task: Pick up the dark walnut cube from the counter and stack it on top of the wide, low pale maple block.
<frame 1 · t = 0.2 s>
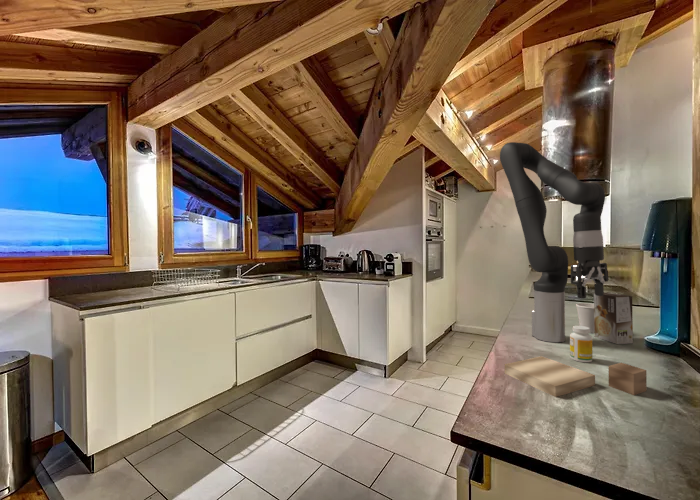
hand: (590, 296, 98), 17 cm above the countertop, tool pointing down, fingers open, 8 cm apart
walnut cube: (627, 388, 74), on the countertop
maple block: (547, 381, 80), on the countertop
supplement bottle: (581, 360, 92), on the countertop
coffee box: (612, 340, 109), on the countertop
dixie cup: (589, 331, 119), on the countertop
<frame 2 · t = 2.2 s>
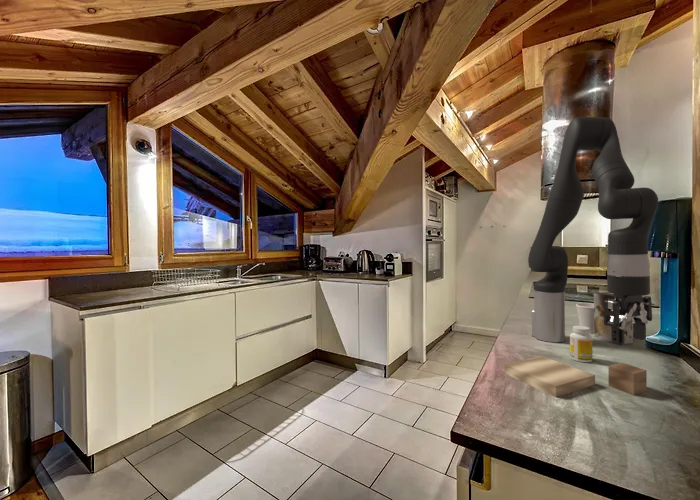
hand: (628, 342, 73), 11 cm above the countertop, tool pointing down, fingers open, 8 cm apart
nothing on the countertop moved.
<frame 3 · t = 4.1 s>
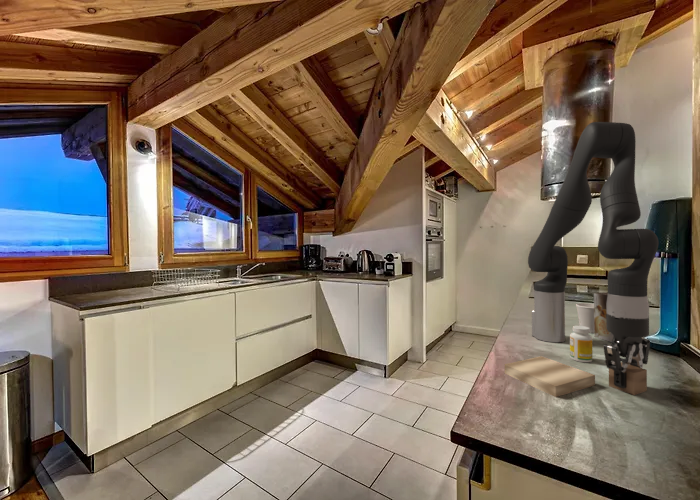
hand: (627, 384, 74), 1 cm above the countertop, tool pointing down, fingers closed on walnut cube, 5 cm apart
walnut cube: (627, 388, 74), on the countertop, touching gripper
everything else where it was.
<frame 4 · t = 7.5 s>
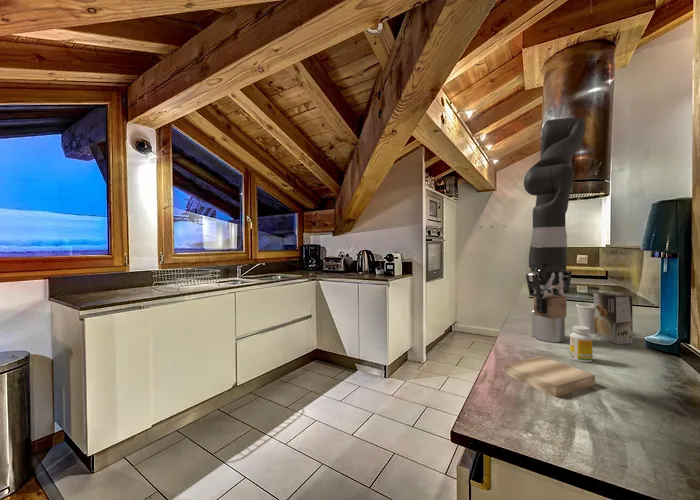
hand: (549, 311, 79), 17 cm above the countertop, tool pointing down, fingers closed on walnut cube, 5 cm apart
walnut cube: (549, 315, 79), point 16 cm above the countertop, touching gripper
everything else where it was.
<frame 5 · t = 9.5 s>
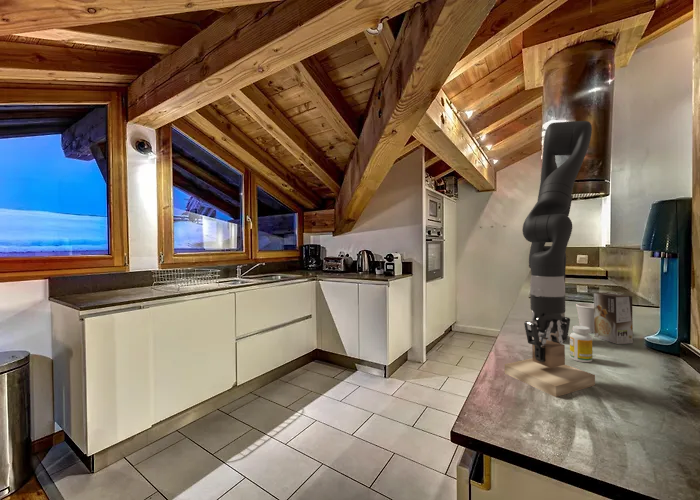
hand: (548, 358, 79), 5 cm above the countertop, tool pointing down, fingers closed on walnut cube, 5 cm apart
walnut cube: (548, 362, 79), point 4 cm above the countertop, touching gripper
everything else where it was.
when the fingers open (4 cm above the countertop, at t = 11.2 s): walnut cube stays where it is, resting on maple block.
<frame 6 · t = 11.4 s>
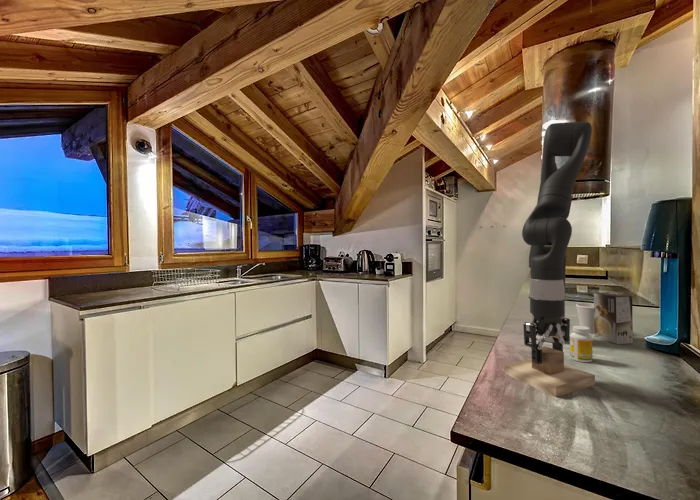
hand: (547, 360, 80), 5 cm above the countertop, tool pointing down, fingers open, 7 cm apart
walnut cube: (547, 369, 80), point 2 cm above the countertop, touching maple block
maple block: (547, 381, 80), on the countertop, touching walnut cube
everything else where it was.
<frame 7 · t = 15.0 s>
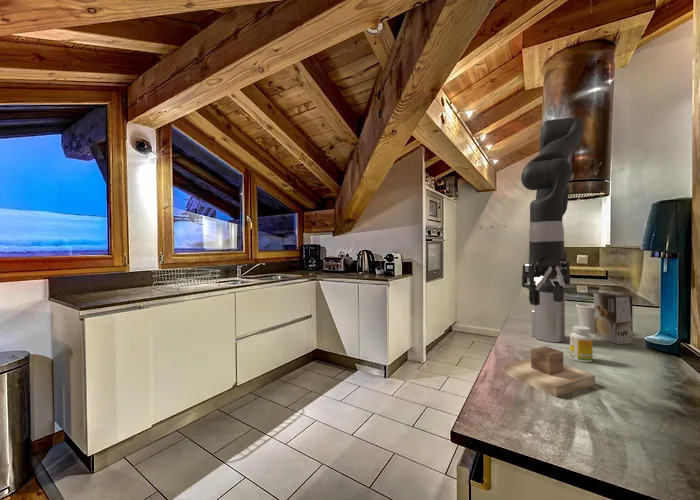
hand: (546, 303, 79), 20 cm above the countertop, tool pointing down, fingers open, 8 cm apart
nothing on the countertop moved.
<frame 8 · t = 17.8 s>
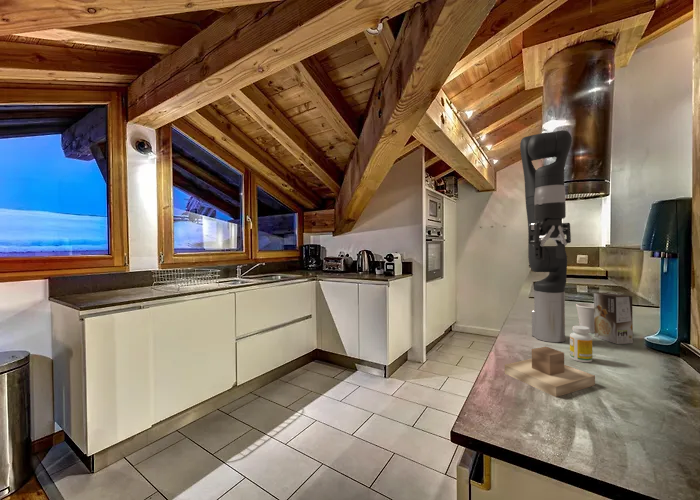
hand: (550, 259, 89), 30 cm above the countertop, tool pointing down, fingers open, 8 cm apart
nothing on the countertop moved.
at the end: walnut cube inside the target area on the maple block (0.1 cm from its centre), point 3.0 cm above the maple block's base; walnut cube tilted 0°; the gripper is holding nothing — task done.
